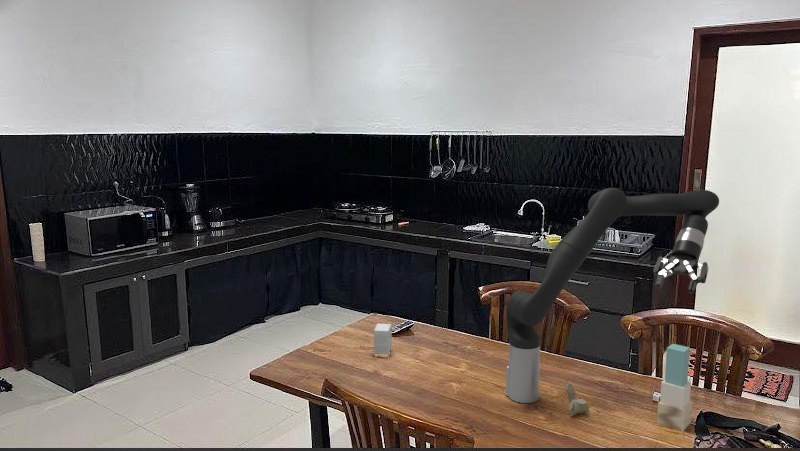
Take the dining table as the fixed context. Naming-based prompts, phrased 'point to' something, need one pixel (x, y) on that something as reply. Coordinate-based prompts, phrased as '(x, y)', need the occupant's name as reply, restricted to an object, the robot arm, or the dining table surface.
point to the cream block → (675, 394)
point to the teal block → (677, 365)
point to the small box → (382, 338)
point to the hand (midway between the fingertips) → (674, 290)
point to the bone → (576, 402)
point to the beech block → (674, 416)
